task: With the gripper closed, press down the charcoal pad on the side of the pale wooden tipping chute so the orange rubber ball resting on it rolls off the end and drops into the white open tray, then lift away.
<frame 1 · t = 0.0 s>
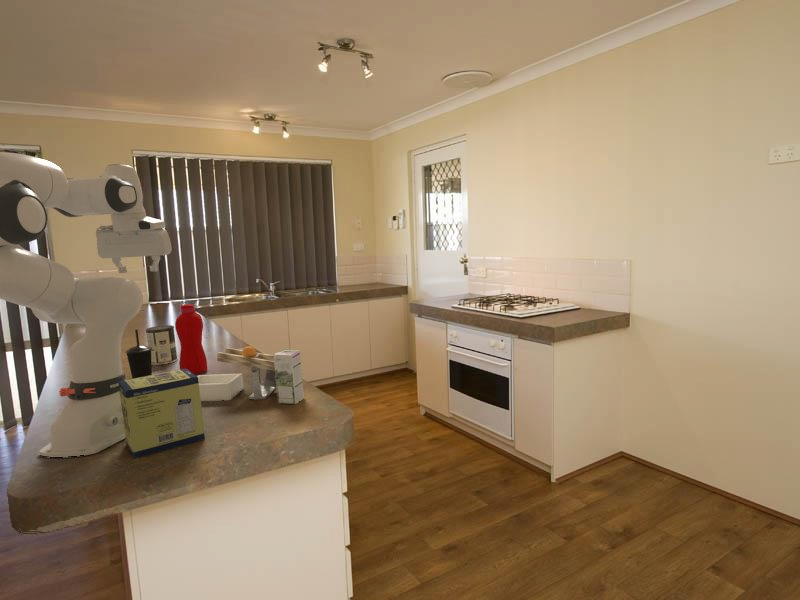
hand: (138, 272, 144), 39 cm above the countertop, tool pointing down, fingers open, 8 cm apart
syrup box: (291, 401, 142), on the countertop
pivot stand: (263, 393, 151), on the countertop
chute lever: (257, 364, 154), point 8 cm above the countertop, hinge at -12.0°, touching ball
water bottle: (196, 372, 182), on the countertop
coffee can: (163, 362, 201), on the countertop
ball: (248, 352, 150), point 13 cm above the countertop, tilted 8°, touching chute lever
white open tray: (214, 395, 152), on the countertop
protein box: (166, 443, 117), on the countertop
drinking cup: (143, 390, 161), on the countertop
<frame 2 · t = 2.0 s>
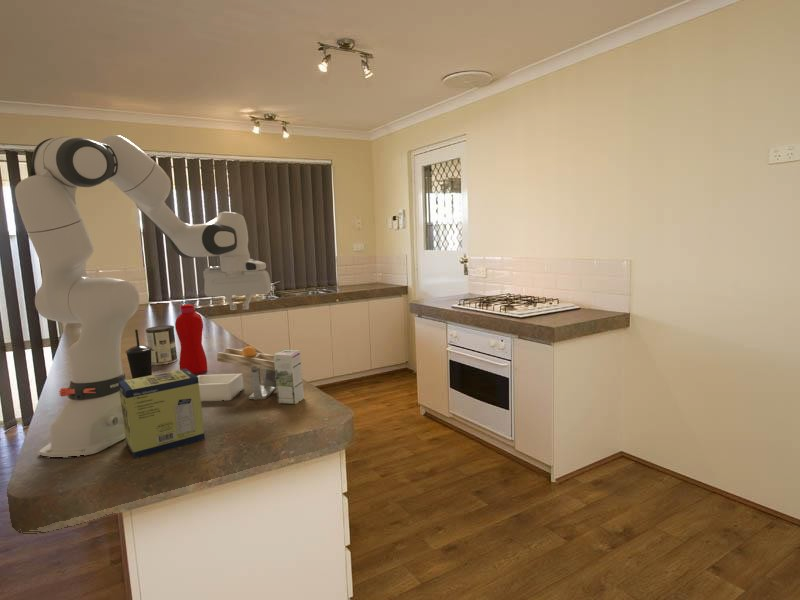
hand: (239, 309, 155), 25 cm above the countertop, tool pointing down, fingers open, 3 cm apart
nothing on the countertop moved.
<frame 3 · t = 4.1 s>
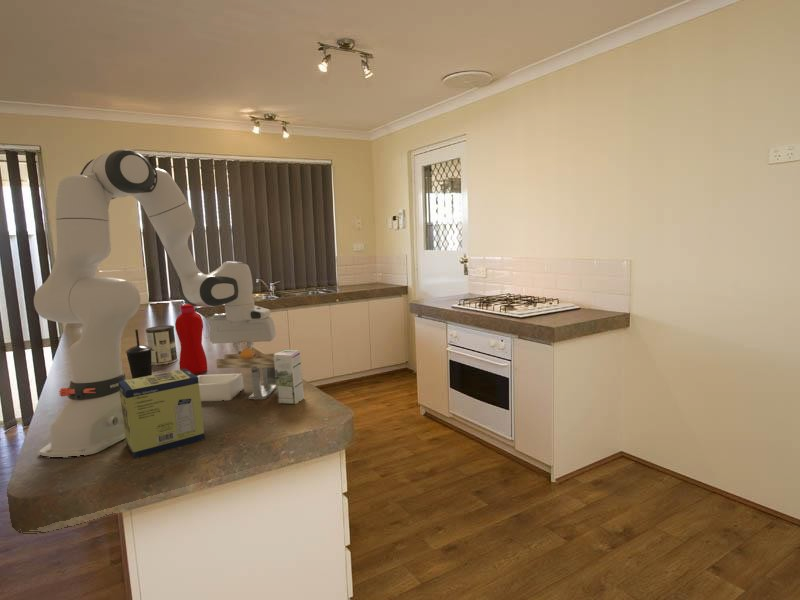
hand: (244, 355, 157), 10 cm above the countertop, tool pointing down, fingers closed, pressing on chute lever
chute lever: (258, 365, 154), point 8 cm above the countertop, hinge at -1.3°, touching ball, gripper
ball: (247, 355, 150), point 12 cm above the countertop, touching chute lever
everything else where it was.
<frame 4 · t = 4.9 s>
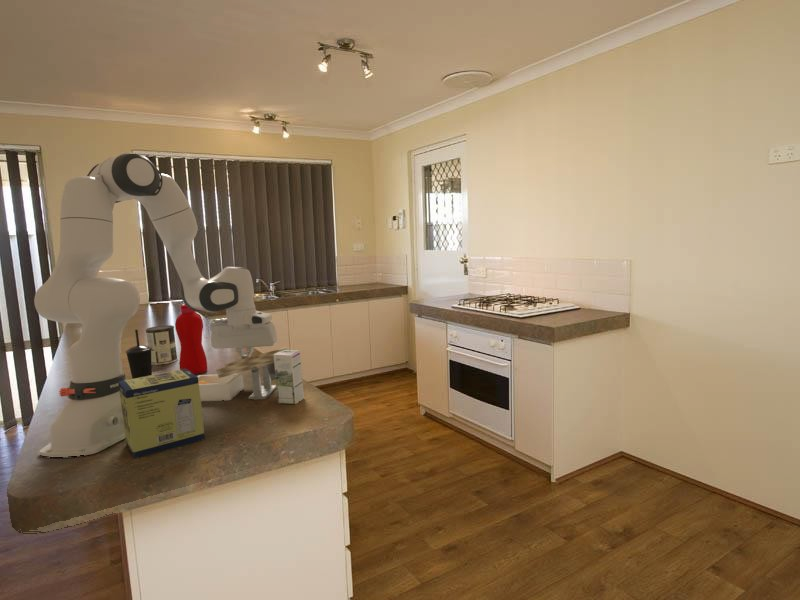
hand: (246, 360, 158), 9 cm above the countertop, tool pointing down, fingers closed
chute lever: (259, 367, 154), point 7 cm above the countertop, hinge at 13.3°, touching gripper
ball: (202, 387, 152), point 3 cm above the countertop, tilted 104°, touching white open tray
everything else where it was.
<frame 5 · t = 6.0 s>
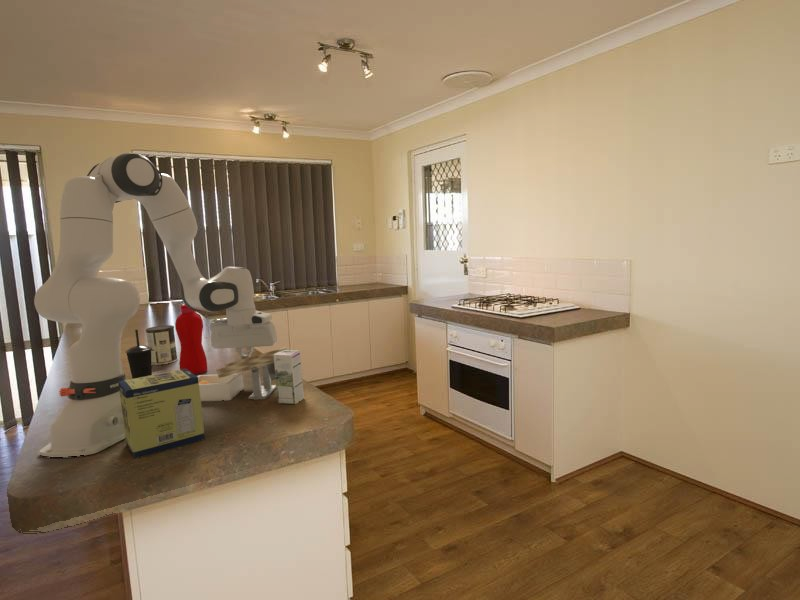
hand: (246, 360, 158), 9 cm above the countertop, tool pointing down, fingers closed
ball: (203, 387, 152), point 3 cm above the countertop, tilted 90°, touching white open tray
everything else where it was.
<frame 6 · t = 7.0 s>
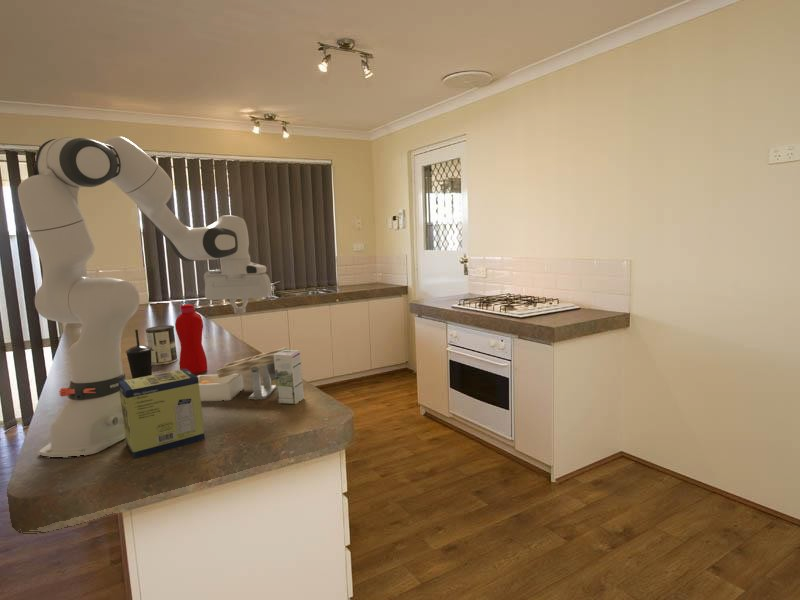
hand: (240, 312, 155), 24 cm above the countertop, tool pointing down, fingers closed
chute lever: (259, 367, 154), point 7 cm above the countertop, hinge at 13.1°
ball: (205, 387, 152), point 3 cm above the countertop, tilted 77°, touching white open tray
everything else where it was.
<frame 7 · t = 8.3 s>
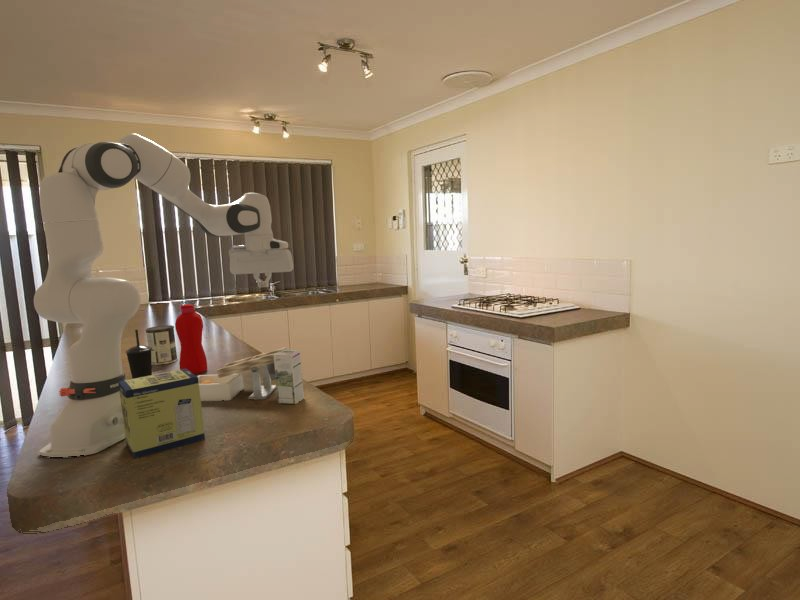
hand: (263, 287, 162), 31 cm above the countertop, tool pointing down, fingers closed
ball: (206, 387, 152), point 3 cm above the countertop, tilted 61°, touching white open tray
everything else where it was.
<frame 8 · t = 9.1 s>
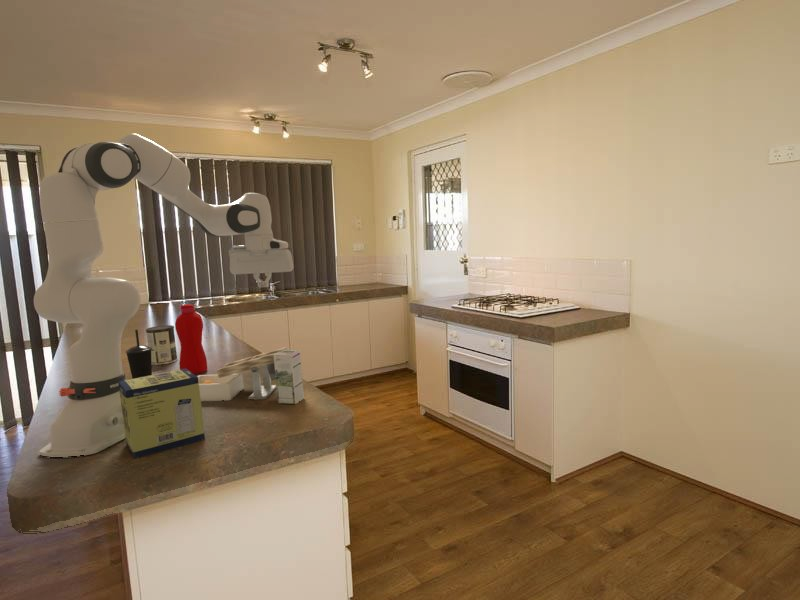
hand: (263, 287, 162), 31 cm above the countertop, tool pointing down, fingers closed
ball: (208, 387, 152), point 3 cm above the countertop, tilted 51°, touching white open tray
everything else where it was.
at the end: ball inside the target area on the white open tray (1.9 cm from its centre), point 2.6 cm above the white open tray's base; ball moved 16.9 cm from its start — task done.
